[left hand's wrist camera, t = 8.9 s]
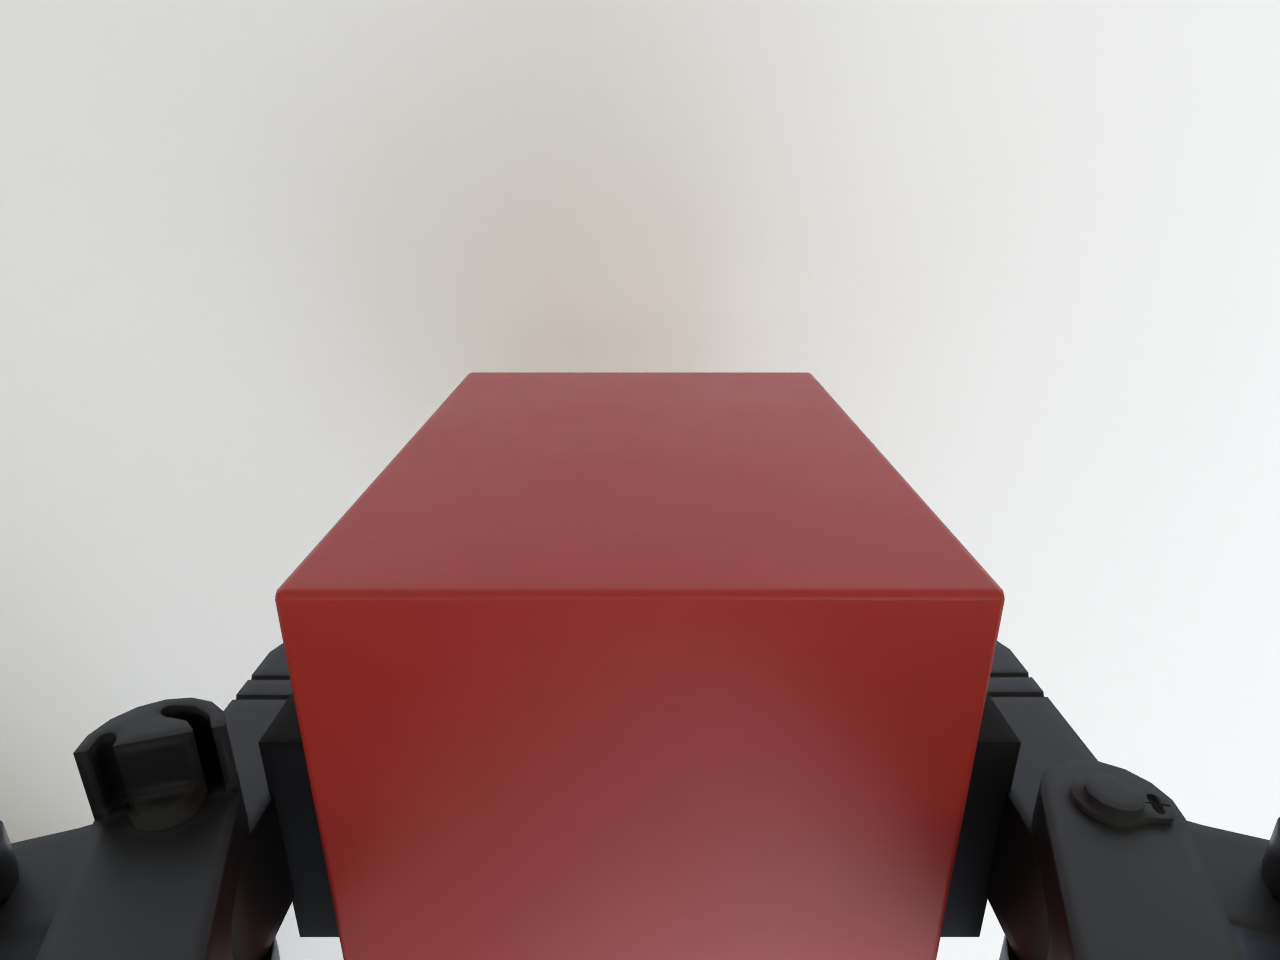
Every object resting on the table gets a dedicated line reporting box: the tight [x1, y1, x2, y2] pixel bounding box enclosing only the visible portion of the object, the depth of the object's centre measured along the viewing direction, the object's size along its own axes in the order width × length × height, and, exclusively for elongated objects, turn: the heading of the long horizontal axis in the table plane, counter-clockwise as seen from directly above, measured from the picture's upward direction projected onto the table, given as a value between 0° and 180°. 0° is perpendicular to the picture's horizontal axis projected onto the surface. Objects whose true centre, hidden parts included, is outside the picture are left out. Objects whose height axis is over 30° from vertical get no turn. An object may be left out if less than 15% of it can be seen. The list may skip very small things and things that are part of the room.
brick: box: [275, 373, 1004, 960], centre depth 12 cm, size 7×6×8 cm
